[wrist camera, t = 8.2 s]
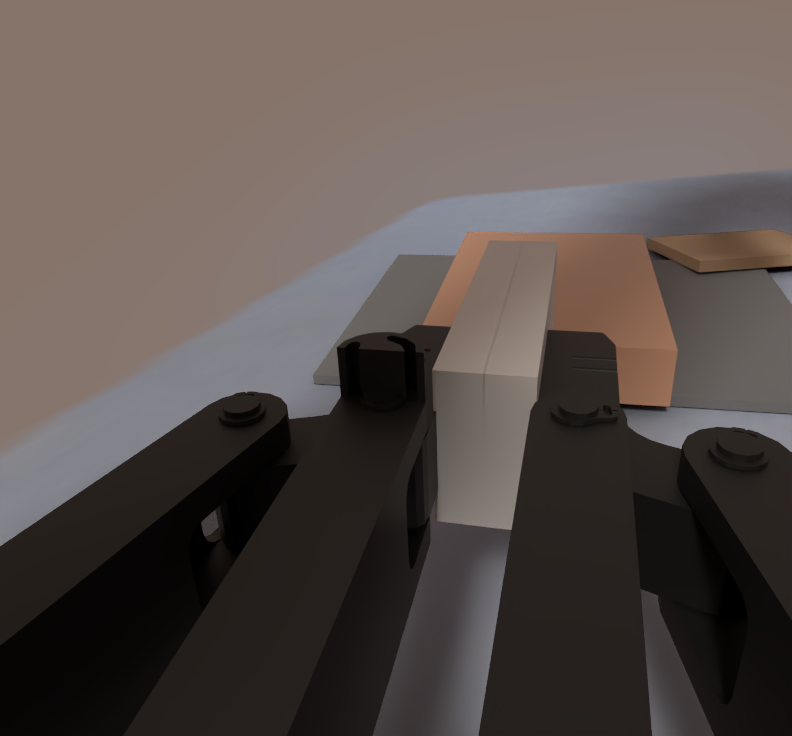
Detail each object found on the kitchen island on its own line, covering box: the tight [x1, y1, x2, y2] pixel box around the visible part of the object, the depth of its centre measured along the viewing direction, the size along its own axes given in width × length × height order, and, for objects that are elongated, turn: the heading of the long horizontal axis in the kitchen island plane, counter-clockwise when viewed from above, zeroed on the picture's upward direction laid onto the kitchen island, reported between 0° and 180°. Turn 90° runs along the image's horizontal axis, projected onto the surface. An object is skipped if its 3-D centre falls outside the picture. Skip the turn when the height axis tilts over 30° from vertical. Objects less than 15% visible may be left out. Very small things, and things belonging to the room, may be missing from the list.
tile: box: [423, 232, 678, 407], centre depth 31 cm, size 9×2×14 cm
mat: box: [313, 255, 792, 414], centre depth 33 cm, size 20×16×1 cm
